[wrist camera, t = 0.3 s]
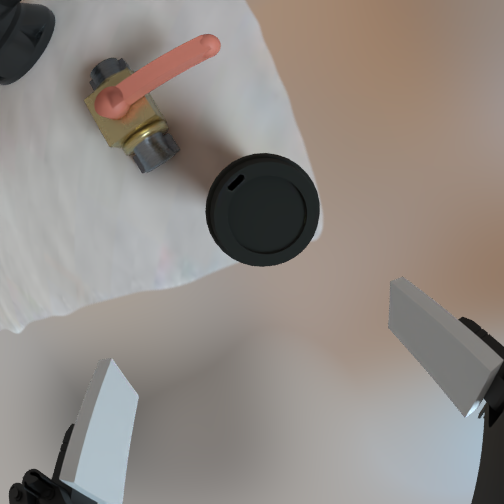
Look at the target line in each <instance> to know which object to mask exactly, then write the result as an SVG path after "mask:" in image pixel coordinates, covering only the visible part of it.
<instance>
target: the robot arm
mask: <svg viewBox="0 0 504 504" xmlns="http://www.w3.org/2000/svg"><path fill="white" fill-rule="evenodd" d="M20 1H21V0H0V84H1V85H7V84H11V83H13V82H15V81H16V80H18V79H19V78H21V77H22V76H23V75H24V74H26V73H27V72H28V71H29V70H30V69H31V67H32V66H33V65H34V64H35V63H36V62H37V60H38V59H39V58H40V56H41V55H42V53H43V52H44V50H45V48H46V47H47V45H48V43H49V41H50V39H51V36H52V34H53V30H54V26H55V16H54V14H53V12H52V11H51V10H49V9H48V8H47V7H45V6H43V5H39V4H29V3H20ZM388 328H389V329H390V330H391V331H392V332H393V334H394V335H395V336H396V337H397V338H398V339H399V340H400V341H401V342H402V344H403V345H404V346H405V347H406V348H407V349H408V350H409V351H410V352H411V354H412V355H413V356H414V357H415V358H416V359H417V360H418V362H419V363H420V364H421V365H422V366H423V367H424V369H425V370H426V371H427V372H428V373H429V374H430V376H431V377H432V378H433V379H434V380H435V382H436V383H437V384H438V385H439V386H440V387H441V389H442V390H443V391H444V392H445V393H446V395H447V396H448V397H449V398H450V400H451V401H452V402H453V403H454V405H455V406H456V407H457V408H458V409H459V411H460V412H461V413H462V415H463V416H464V417H465V418H466V417H467V416H468V415H469V414H470V413H472V412H473V411H474V410H476V409H477V408H478V406H479V405H480V403H481V402H482V400H483V398H484V399H485V401H486V404H485V405H484V407H483V409H482V410H481V412H480V413H479V416H478V418H481V416H482V415H483V413H484V412H485V415H484V433H483V443H482V452H481V459H480V466H479V472H478V477H477V482H476V487H475V491H474V495H473V499H472V503H471V504H504V347H503V346H502V345H501V344H500V343H499V342H497V341H496V340H495V339H494V338H493V337H492V336H491V335H490V334H489V335H488V333H487V332H486V331H485V330H484V329H481V327H480V326H479V325H478V324H476V323H475V322H474V321H472V320H470V319H467V318H464V317H461V318H460V319H456V318H455V317H454V316H453V315H452V314H451V313H449V312H448V311H447V310H446V309H444V308H443V307H442V306H441V305H439V304H438V303H437V302H436V301H434V300H433V299H432V298H430V297H429V296H428V295H427V294H425V293H424V292H423V291H421V290H420V289H419V288H418V287H416V286H415V285H413V284H412V283H411V282H409V281H408V280H407V279H405V278H404V277H401V278H398V279H396V280H393V281H391V282H390V306H389V323H388ZM138 398H139V396H138V394H137V393H136V391H135V390H134V389H133V388H132V386H131V385H130V383H129V382H128V381H127V379H126V378H125V376H124V375H123V374H122V372H121V371H120V369H119V368H118V366H117V365H116V363H115V362H114V360H113V359H112V358H110V359H102V360H99V362H98V364H97V367H96V369H95V372H94V374H93V377H92V380H91V382H90V384H89V387H88V389H87V392H86V395H85V397H84V400H83V403H82V405H81V408H80V411H79V414H78V417H77V419H76V422H75V424H72V425H71V426H70V427H69V429H68V430H67V431H66V433H65V436H64V440H63V444H62V445H61V449H60V450H61V451H60V452H59V455H58V459H57V462H56V466H55V469H54V473H53V477H52V479H49V478H48V477H47V476H45V475H44V474H43V473H41V472H40V471H38V470H37V469H31V470H29V471H27V472H26V473H25V475H24V477H23V481H22V484H21V483H15V484H13V485H12V487H11V488H10V491H9V503H10V504H97V503H99V504H123V493H124V484H125V475H126V468H127V461H128V454H129V447H130V440H131V435H132V429H133V424H134V418H135V413H136V408H137V402H138Z"/></svg>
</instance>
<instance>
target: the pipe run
mask: <svg viewBox="0 0 504 504" xmlns="http://www.w3.org/2000/svg"><path fill="white" fill-rule="evenodd" d="M133 73H134V71H133V70H131V69H130V67H129V66H128V64H127V63H126V62H125V61H124V60H123V59H122V58H121V59H120V60H117V59H116V58H109V59H106V60H104V61H102V62H101V63H99V64H98V65H97V66H96V67H95V68H94V69H93V70H92V72H91V74H90V76H91V78H92V80H91V81H90V84H91V86H92V88H93V90H94V92H93V93H92V94H91V95H90V96H88V97H87V98H86V99H85V100H84V101H85V103H86V105H87V107H88V109H89V111H90V113H91V114H92V116H93V118H94V120H95V122H96V123H97V125H98V127H99V129H100V131H101V132H102V134H103V136H104V138H105V139H106V141H107V143H108V144H109V146H110V147H117V148H122V149H123V150H124V152H125V154H126V155H127V156H128V155H132V154H134V153H135V154H136V156H134V157H133V159H134V160H135V162H136V164H137V165H138V167H139V169H140V170H141V172H142V173H146V172H147V173H148V172H150V171H152V170H153V169H155V168H157V167H158V166H160V165H161V164H163V163H164V162H166V161H167V160H169V159H170V158H171V157H173V156H174V155H175V153H176V152H178V151H179V150H180V149H179V147H178V145H177V144H176V142H175V141H174V139H173V137H172V136H171V135H170V134H168V133H167V134H166V135H164V136H163V134H164V133H165V132H166V131H167V130H168V126H167V125H166V120H165V118H164V117H163V115H162V114H161V112H160V110H159V109H158V107H157V105H156V104H155V102H154V101H153V99H152V97H151V96H150V94H149V93H147V94H146V95H144V96H143V97H141V98H140V99H138V100H137V101H136V102H134V103H133V104H131V105H130V108H129V110H128V112H127V113H126V114H125V115H124V116H123V117H121V118H119V119H115V120H113V119H109V118H106V117H103V116H100V115H99V114H97V112H96V111H95V107H94V103H95V99H96V97H97V95H98V94H99V93H100V92H101V91H102V90H103V89H105V88H107V87H111V86H114V87H115V86H116V85H117V84H119V83H120V82H122V81H123V80H125V79H126V78H127V77H129V76H130V75H132V74H133Z"/></svg>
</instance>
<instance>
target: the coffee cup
mask: <svg viewBox="0 0 504 504" xmlns="http://www.w3.org/2000/svg"><path fill="white" fill-rule="evenodd" d="M205 212H206V221H207V225H208V228H209V231H210V234H211V236H212V237H213V239H214V241H215V243H216V244H217V245H218V246H219V247H220V248H221V249H222V251H223V252H224V253H226V254H227V255H228V256H230V257H231V258H232V259H234V260H237V261H239V262H241V263H243V264H247V265H251V266H262V267H264V266H272V265H278V264H281V263H284V262H287V261H289V260H290V259H292V258H294V257H296V256H297V255H298V254H299V253H301V252H302V251H303V250H304V249H305V248H306V246H307V245H308V244H309V243H310V241H311V239H312V238H313V236H314V234H315V231H316V228H317V225H318V220H319V214H320V204H319V198H318V193H317V190H316V188H315V186H314V183H313V182H312V180H311V179H310V177H309V176H308V174H307V173H306V172H305V171H304V170H303V169H302V168H301V167H300V166H299V165H298V164H296V163H294V162H293V161H291V160H290V159H288V158H285V157H282V156H279V155H275V154H269V153H260V154H252V155H248V156H245V157H242V158H240V159H238V160H236V161H234V162H232V163H231V164H230V165H228V166H227V167H226V168H225V169H223V170H222V172H221V173H220V174H219V175H218V176H217V177H216V179H215V181H214V182H213V184H212V186H211V188H210V190H209V193H208V197H207V200H206V211H205Z"/></svg>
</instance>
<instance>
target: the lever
mask: <svg viewBox="0 0 504 504" xmlns="http://www.w3.org/2000/svg"><path fill="white" fill-rule="evenodd" d="M220 47H221V44H220V41H219V39H218V38H217V37H216V36H214V35H211V34H204V35H200V36H198V37H196V38H194V39H192V40H190V41H188V42H186V43H184V44H182V45H180V46H178V47H177V48H175V49H173V50H171V51H169V52H167V53H166V54H164V55H162V56H160V57H159V58H157V59H155V60H154V61H152V62H150V63H149V64H147V65H146V66H144V67H142V68H141V69H139V70H138V71H136V72H135V73H133V74H132V75H130V76H129V77H127V78H126V79H125V80H123V81H122V82H120V83H119V84H117V85H116V86H115V87H114V86H111V87H107V88H105V89H103V90H102V91H101V92H100V93H99V94H98V95H97V97H96V99H95V103H94V107H95V111H96V112H97V114H99V115H100V116H103V117H106V118H109V119H113V120H115V119H119V118H121V117H123V116H124V115H125V114H126V113H127V112H128V110H129V108H130V105H131V104H133V103H134V102H136V101H137V100H138V99H140V98H141V97H143V96H144V95H146V94H147V93H149V92H150V91H152V90H154V89H155V88H157V87H158V86H160V85H162V84H163V83H165V82H166V81H168V80H170V79H171V78H173V77H175V76H177V75H178V74H180V73H182V72H184V71H186V70H187V69H189V68H191V67H193V66H195V65H197V64H199V63H201V62H202V61H204V60H206V59H208V58H211V57H213V56H215V55H216V54H217V53H218V52H219V50H220Z"/></svg>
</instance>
